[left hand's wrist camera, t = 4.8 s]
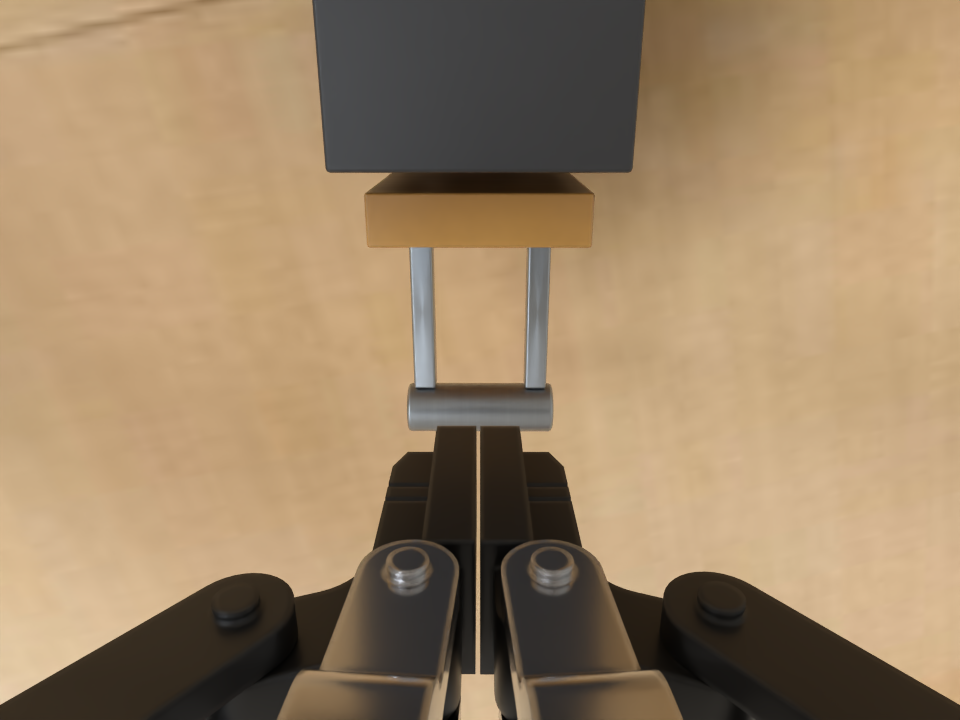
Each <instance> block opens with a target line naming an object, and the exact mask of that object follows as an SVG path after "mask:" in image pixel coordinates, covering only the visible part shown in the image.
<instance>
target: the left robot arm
mask: <svg viewBox="0 0 960 720" xmlns="http://www.w3.org/2000/svg"><path fill="white" fill-rule="evenodd" d="M476 531H477V476H476V426H437V430H436V437H435V445H434V452H407V453H406V454H405V455H404V456H403V457H402V458H401V459H400V460H399V461H398V462H397V463H396V464H395V465H394V466H393V468H392V472H391V476H390V480H389V487H388V489H387V493H386V497H385V501H384V505H383V510H382V514H381V518H380V522H379V526H378V530H377V535H376V539H375V543H374V547H373V551H372V552H370V553H369V554H368V555H367V556H366V557H365V558H364V559H363V560H362V561H361V563H360V565H359V566H358V569H357V571H356V574H355V577H353V578H352V579H350V580H349V581H347V582H345V583H343V584H341V585H339V586H336V587H334V588H331V589H328V590H325V591H321V592H317V593H312V594H308V595H304V596H299V597H295V598H294V594H293V592H292V589H291V588H290V586H289V585H288V584H287V583H286V582H284V581H283V580H281V579H280V578H278V577H275V576H272V575H268V574H262V573H248V574H240V575H234V576H231V577H227V578H224V579H221V580H219V581H216V582H214V583H212V584H210V585H208V586H206V587H204V588H203V589H201V590H199V591H197V592H196V593H194V594H192V595H190V596H189V597H187V598H185V599H184V600H182V601H180V602H178V603H177V604H175V605H173V606H171V607H170V608H168V609H166V610H164V611H163V612H161V613H159V614H157V615H156V616H154V617H152V618H151V619H149V620H147V621H145V622H144V623H142V624H140V625H138V626H137V627H135V628H133V629H131V630H130V631H128V632H126V633H124V634H123V635H121V636H119V637H118V638H116V639H114V640H112V641H111V642H109V643H107V644H105V645H104V646H102V647H100V648H98V649H97V650H95V651H93V652H91V653H90V654H88V655H86V656H85V657H83V658H81V659H79V660H78V661H76V662H74V663H72V664H71V665H69V666H67V667H65V668H64V669H62V670H60V671H58V672H57V673H55V674H53V675H52V676H50V677H48V678H46V679H45V680H43V681H41V682H39V683H38V684H36V685H34V686H32V687H31V688H29V689H27V690H25V691H24V692H22V693H20V694H19V695H17V696H15V697H13V698H12V699H10V700H8V701H6V702H5V703H3V704H1V705H0V720H461V674H475V654H476ZM480 674H494V692H495V700H496V703H497V706H498V708H499V720H960V705H959V704H957V703H955V702H954V701H952V700H950V699H948V698H947V697H945V696H943V695H941V694H940V693H938V692H936V691H935V690H933V689H931V688H929V687H928V686H926V685H924V684H922V683H921V682H919V681H917V680H915V679H914V678H912V677H910V676H908V675H907V674H905V673H903V672H902V671H900V670H898V669H896V668H895V667H893V666H891V665H889V664H888V663H886V662H884V661H882V660H881V659H879V658H877V657H875V656H874V655H872V654H870V653H869V652H867V651H865V650H863V649H862V648H860V647H858V646H856V645H855V644H853V643H851V642H849V641H848V640H846V639H844V638H842V637H841V636H839V635H837V634H836V633H834V632H832V631H830V630H829V629H827V628H825V627H823V626H822V625H820V624H818V623H816V622H815V621H813V620H811V619H809V618H808V617H806V616H804V615H803V614H801V613H799V612H797V611H796V610H794V609H792V608H790V607H789V606H787V605H785V604H783V603H782V602H780V601H778V600H776V599H775V598H773V597H771V596H770V595H768V594H766V593H764V592H763V591H761V590H759V589H757V588H756V587H754V586H752V585H750V584H748V583H746V582H744V581H742V580H740V579H737V578H735V577H732V576H729V575H725V574H720V573H715V572H693V573H687V574H684V575H681V576H679V577H677V578H675V579H674V580H673V581H671V582H670V583H669V584H668V586H667V587H666V589H665V592H664V596H663V598H659V597H655V596H650V595H646V594H642V593H637V592H633V591H630V590H626V589H623V588H621V587H618V586H616V585H614V584H612V583H610V582H608V581H607V579H606V577H605V574H604V571H603V569H602V566H601V565H600V563H599V561H598V560H597V559H596V558H595V557H594V556H593V555H592V554H591V553H590V552H588V551H587V550H585V549H584V548H582V545H581V540H580V536H579V531H578V527H577V523H576V518H575V514H574V510H573V505H572V501H571V497H570V492H569V488H568V486H567V479H566V475H565V471H564V467H563V466H562V465H561V464H560V463H559V462H558V461H557V460H556V459H555V458H554V457H553V456H552V455H551V454H550V453H549V452H523V450H522V442H521V434H520V427H519V426H480Z"/></svg>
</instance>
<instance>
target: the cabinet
mask: <svg viewBox="0 0 960 720" xmlns="http://www.w3.org/2000/svg"><path fill="white" fill-rule="evenodd" d="M312 2H313V15H314V27H315V40H316V53H317V65H318V78H319V90H320V103H321V116H322V128H323V141H324V153H325V166H326V170H327V171H328V172H330V173H628V172H631V170H632V168H633V156H634V143H635V130H636V117H637V104H638V91H639V78H640V65H641V52H642V39H643V26H644V13H645V0H312Z"/></svg>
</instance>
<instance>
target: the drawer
mask: <svg viewBox="0 0 960 720" xmlns="http://www.w3.org/2000/svg"><path fill="white" fill-rule="evenodd" d="M364 200H365V217H366V233H367V245H368V247H370V248H409V252H410V278H411V304H412V330H413V356H414V382H415V383H412V384H410V386H409V389H408V396H407V420H408V427H409V429H410V430H411V431H436V430H437V426H476V431H480V426H519V427H520V431H550V430H551V428H552V424H553V392H552V387H551V385H550V384H548V383H546V367H547V340H548V313H549V286H550V259H551V248H589V247H591V245H592V230H593V213H594V193H592V192H591V191H590V190H589V189H588V188H586V187H585V186H584V185H583V184H582V183H581V182H579V181H578V180H577V179H576V178H575V177H573V176H572V175H571V174H570V173H391V174H390V175H389V176H387V177H386V178H385V179H383V180H382V181H381V182H380V183H378V184H377V185H376V186H374V187H373V188H372V189H370V190H369V191H368V192H366V193H365V195H364ZM434 248H527V262H526V303H525V344H524V383H436V382H437V362H436V323H435V283H434Z"/></svg>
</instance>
